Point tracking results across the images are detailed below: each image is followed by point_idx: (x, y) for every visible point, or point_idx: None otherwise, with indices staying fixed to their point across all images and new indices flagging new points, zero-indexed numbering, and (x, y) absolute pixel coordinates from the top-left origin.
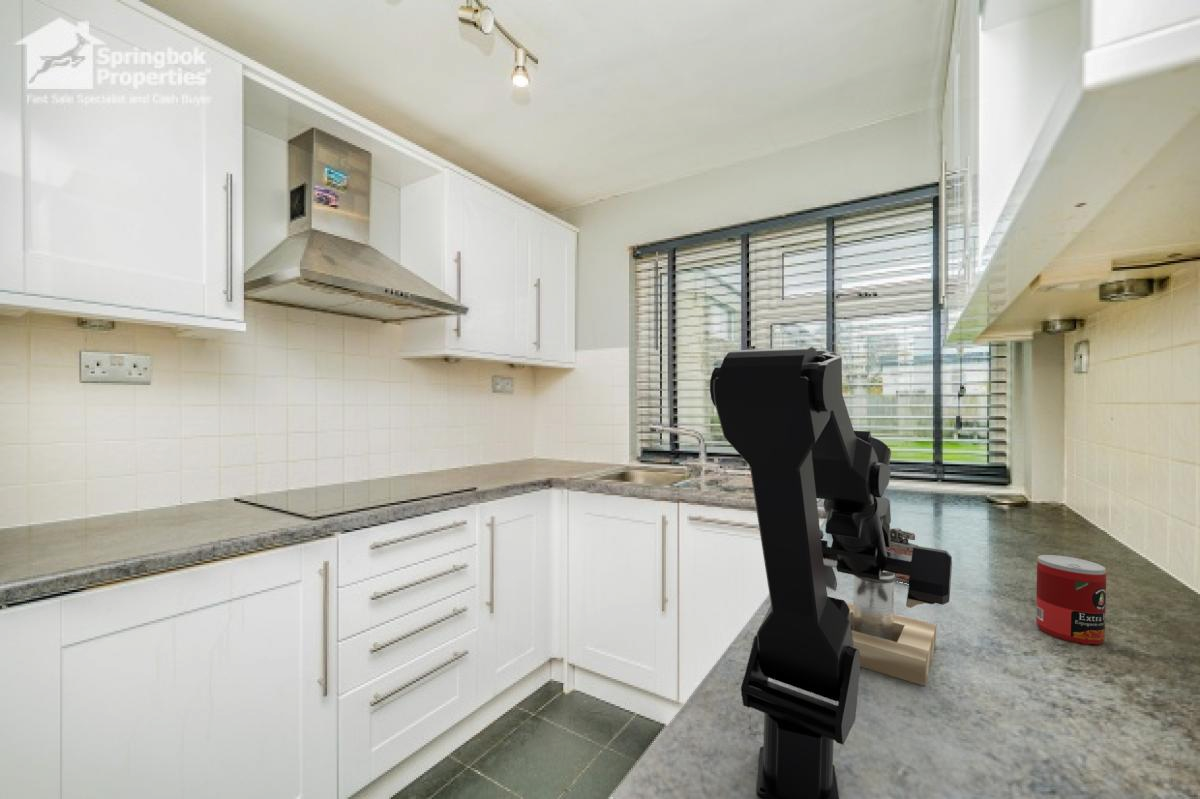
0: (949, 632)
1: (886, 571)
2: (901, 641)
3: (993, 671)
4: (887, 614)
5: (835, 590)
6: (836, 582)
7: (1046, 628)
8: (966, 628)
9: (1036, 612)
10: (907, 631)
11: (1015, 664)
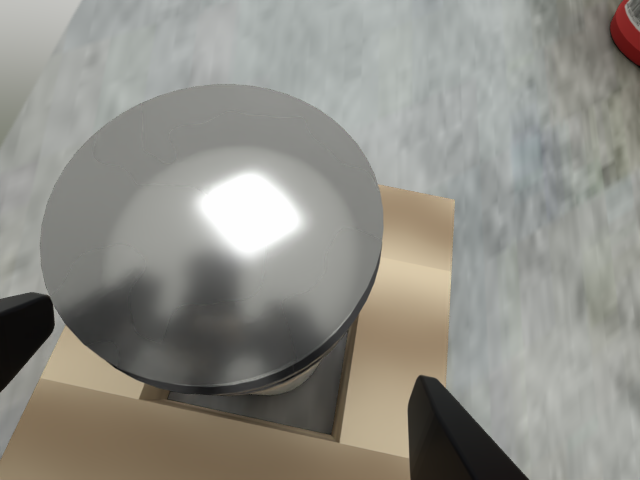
0: (458, 133)
1: (312, 354)
2: (354, 422)
3: (559, 322)
4: (312, 369)
5: (50, 334)
6: (30, 309)
7: (637, 50)
8: (490, 95)
9: (631, 2)
10: (375, 308)
11: (595, 249)
